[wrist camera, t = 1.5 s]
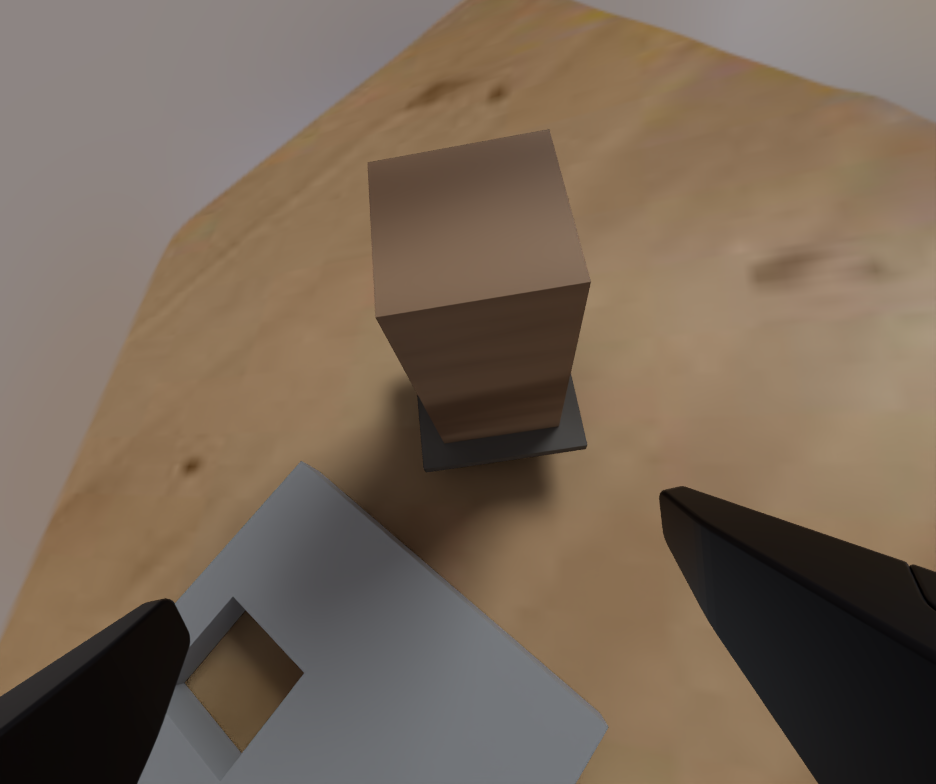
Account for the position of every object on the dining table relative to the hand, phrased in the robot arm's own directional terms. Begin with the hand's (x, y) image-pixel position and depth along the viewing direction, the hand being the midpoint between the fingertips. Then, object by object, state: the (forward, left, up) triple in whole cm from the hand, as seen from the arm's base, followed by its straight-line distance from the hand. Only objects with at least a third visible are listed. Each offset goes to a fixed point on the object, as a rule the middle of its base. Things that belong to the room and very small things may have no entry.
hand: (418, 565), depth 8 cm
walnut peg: (+4, -7, -13) cm, 16 cm away
